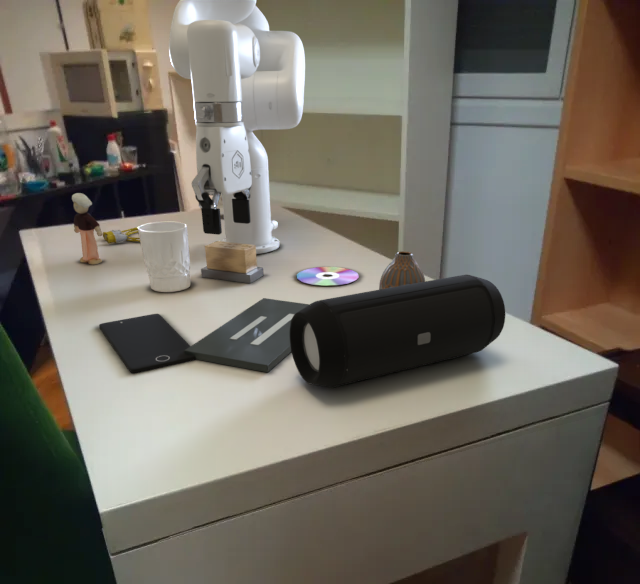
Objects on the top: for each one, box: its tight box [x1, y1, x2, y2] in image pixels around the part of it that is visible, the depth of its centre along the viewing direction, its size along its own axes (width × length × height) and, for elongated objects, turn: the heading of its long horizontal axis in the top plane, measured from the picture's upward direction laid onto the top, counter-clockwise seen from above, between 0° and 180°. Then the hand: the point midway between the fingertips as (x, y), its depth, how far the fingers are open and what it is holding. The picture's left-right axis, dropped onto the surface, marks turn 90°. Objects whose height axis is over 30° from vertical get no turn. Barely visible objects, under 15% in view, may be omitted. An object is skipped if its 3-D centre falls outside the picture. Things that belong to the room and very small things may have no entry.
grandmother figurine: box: [71, 192, 103, 266], centre depth 112 cm, size 8×4×13 cm, turn 68°
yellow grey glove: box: [102, 226, 141, 244], centre depth 132 cm, size 12×16×2 cm
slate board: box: [185, 297, 311, 373], centre depth 83 cm, size 22×12×1 cm, turn 157°
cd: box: [296, 266, 360, 287], centre depth 106 cm, size 11×11×1 cm
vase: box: [378, 250, 426, 290], centre depth 88 cm, size 7×7×9 cm
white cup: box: [137, 220, 192, 293], centre depth 99 cm, size 8×8×10 cm
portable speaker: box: [290, 274, 506, 388], centre depth 71 cm, size 26×10×10 cm, turn 117°
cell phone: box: [98, 313, 197, 375], centre depth 81 cm, size 9×18×1 cm, turn 30°
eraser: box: [200, 240, 265, 284], centre depth 105 cm, size 10×5×6 cm, turn 67°
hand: (228, 228), depth 102 cm, fingers open, 9 cm apart
